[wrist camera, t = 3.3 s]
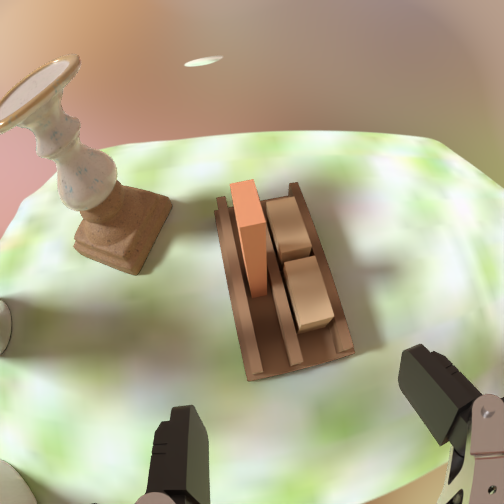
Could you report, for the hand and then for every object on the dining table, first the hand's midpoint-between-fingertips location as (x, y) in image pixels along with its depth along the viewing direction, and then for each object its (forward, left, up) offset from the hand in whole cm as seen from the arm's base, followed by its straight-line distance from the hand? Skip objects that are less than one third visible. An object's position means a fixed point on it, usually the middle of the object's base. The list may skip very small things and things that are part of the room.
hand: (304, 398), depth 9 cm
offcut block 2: (-4, +8, -18) cm, 20 cm away
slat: (-9, +7, -18) cm, 21 cm away
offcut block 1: (-9, +13, -18) cm, 24 cm away
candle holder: (-28, +2, -20) cm, 34 cm away
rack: (-8, +9, -20) cm, 23 cm away
